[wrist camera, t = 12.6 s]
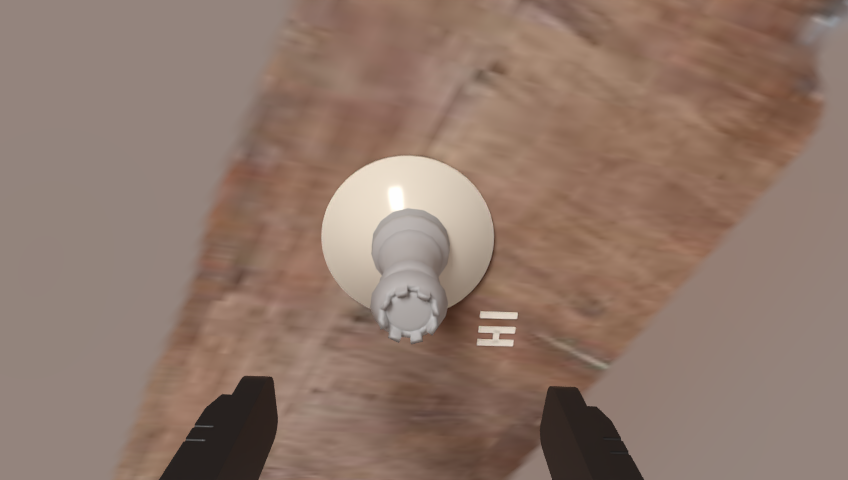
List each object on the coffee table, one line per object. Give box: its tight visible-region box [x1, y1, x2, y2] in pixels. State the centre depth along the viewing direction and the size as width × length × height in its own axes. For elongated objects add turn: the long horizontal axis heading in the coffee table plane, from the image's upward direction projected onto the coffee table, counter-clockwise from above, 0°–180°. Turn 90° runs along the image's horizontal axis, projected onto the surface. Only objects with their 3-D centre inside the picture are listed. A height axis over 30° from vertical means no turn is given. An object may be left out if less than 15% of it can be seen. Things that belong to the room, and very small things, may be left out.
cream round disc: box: [322, 155, 494, 309], centre depth 24 cm, size 10×10×1 cm
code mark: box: [477, 311, 518, 346], centre depth 27 cm, size 2×2×1 cm
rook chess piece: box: [370, 208, 450, 344], centre depth 20 cm, size 4×4×8 cm
